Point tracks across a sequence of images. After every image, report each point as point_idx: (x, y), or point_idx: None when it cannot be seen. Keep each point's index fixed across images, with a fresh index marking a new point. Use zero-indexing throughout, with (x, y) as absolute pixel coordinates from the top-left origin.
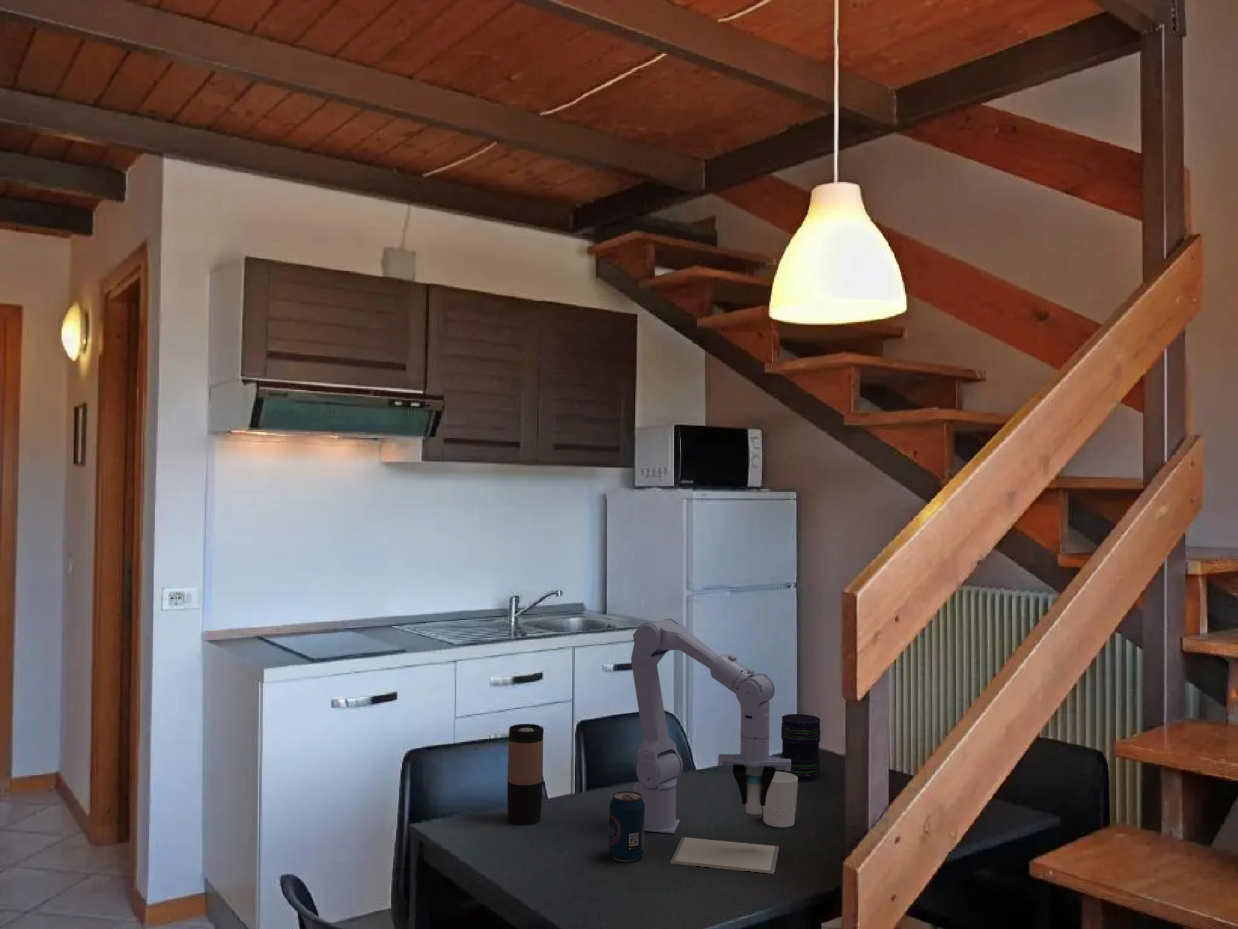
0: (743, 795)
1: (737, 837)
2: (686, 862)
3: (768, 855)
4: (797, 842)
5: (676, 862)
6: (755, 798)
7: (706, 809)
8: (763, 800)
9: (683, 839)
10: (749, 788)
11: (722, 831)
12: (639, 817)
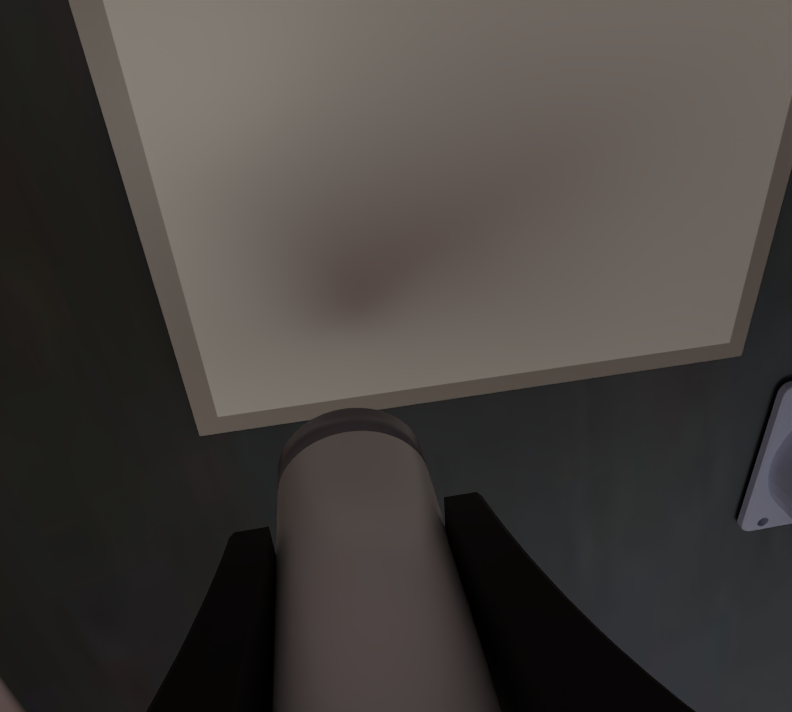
0: (499, 562)
1: (452, 472)
2: None
3: (206, 256)
4: (131, 533)
5: None
6: (336, 567)
7: None
8: (232, 576)
9: (738, 323)
10: (445, 676)
11: (534, 510)
12: None
